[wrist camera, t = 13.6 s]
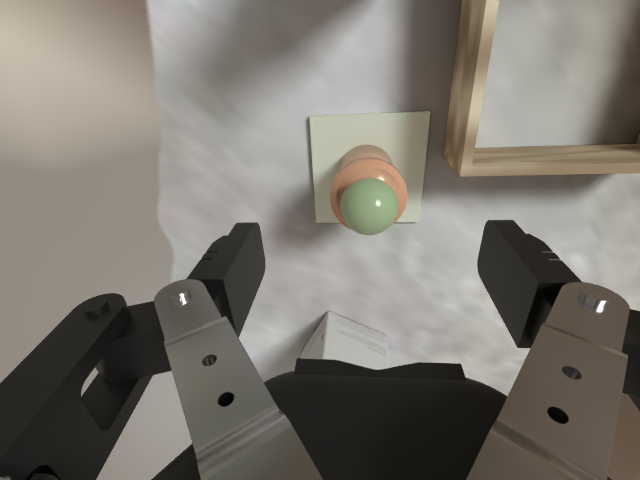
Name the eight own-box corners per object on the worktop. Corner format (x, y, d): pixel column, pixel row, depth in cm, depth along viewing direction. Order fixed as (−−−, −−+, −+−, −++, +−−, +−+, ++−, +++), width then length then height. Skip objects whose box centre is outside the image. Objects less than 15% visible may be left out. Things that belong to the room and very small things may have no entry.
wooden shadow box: (472, -86, 24) (505, -126, 19) (747, -113, 22) (868, -165, 17) (442, 157, 33) (459, 176, 27) (641, 152, 31) (700, 171, 25)
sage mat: (309, 115, 32) (309, 116, 31) (429, 111, 31) (430, 111, 30) (316, 220, 37) (316, 222, 37) (418, 220, 36) (419, 222, 35)
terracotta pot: (333, 141, 32) (324, 177, 23) (399, 139, 32) (418, 175, 22) (335, 201, 35) (328, 255, 26) (395, 200, 35) (411, 256, 25)
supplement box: (327, 308, 43) (315, 418, 30) (388, 335, 44) (402, 452, 31) (299, 352, 47) (277, 466, 34) (355, 375, 48) (355, 493, 35)
